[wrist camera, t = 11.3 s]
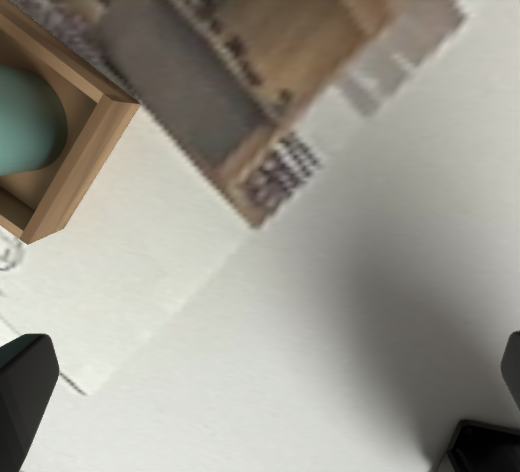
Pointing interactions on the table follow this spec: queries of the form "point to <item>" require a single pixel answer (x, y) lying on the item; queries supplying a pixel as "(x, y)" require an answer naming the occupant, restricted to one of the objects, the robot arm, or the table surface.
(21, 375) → the robot arm
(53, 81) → the walnut tray
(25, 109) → the teal round cylinder
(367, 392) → the table surface
